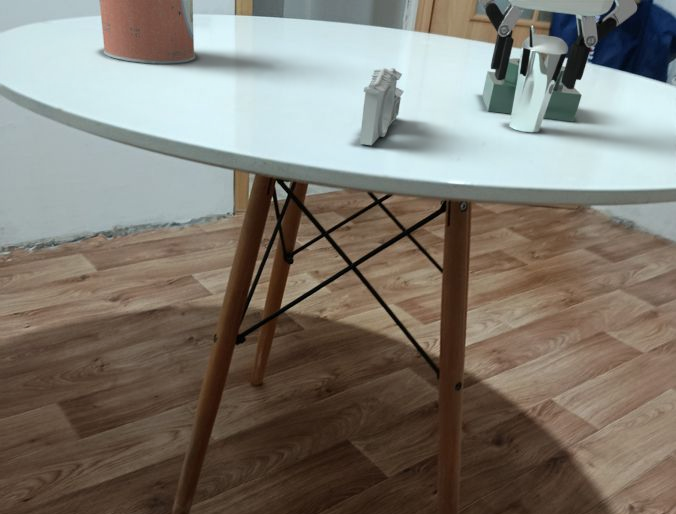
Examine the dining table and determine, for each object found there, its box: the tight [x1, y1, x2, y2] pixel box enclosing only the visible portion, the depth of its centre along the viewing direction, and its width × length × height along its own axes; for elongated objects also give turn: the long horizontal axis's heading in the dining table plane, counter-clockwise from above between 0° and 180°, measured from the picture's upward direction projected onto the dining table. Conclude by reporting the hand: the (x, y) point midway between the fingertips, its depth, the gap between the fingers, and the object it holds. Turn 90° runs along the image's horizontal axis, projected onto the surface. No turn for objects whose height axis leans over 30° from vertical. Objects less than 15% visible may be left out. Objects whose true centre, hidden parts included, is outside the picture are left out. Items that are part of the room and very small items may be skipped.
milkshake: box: [509, 25, 569, 133], centre depth 66 cm, size 4×5×10 cm
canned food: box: [99, 0, 196, 65], centre depth 79 cm, size 11×11×12 cm
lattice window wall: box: [359, 67, 405, 146], centre depth 60 cm, size 12×2×6 cm, turn 164°
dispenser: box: [481, 57, 582, 123], centre depth 76 cm, size 10×8×5 cm
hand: (533, 80), depth 66 cm, fingers open, 6 cm apart
